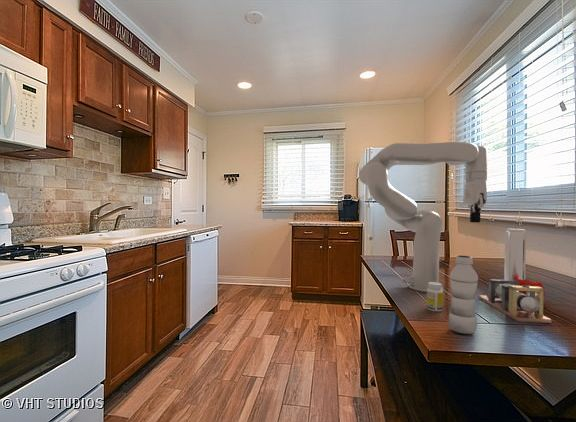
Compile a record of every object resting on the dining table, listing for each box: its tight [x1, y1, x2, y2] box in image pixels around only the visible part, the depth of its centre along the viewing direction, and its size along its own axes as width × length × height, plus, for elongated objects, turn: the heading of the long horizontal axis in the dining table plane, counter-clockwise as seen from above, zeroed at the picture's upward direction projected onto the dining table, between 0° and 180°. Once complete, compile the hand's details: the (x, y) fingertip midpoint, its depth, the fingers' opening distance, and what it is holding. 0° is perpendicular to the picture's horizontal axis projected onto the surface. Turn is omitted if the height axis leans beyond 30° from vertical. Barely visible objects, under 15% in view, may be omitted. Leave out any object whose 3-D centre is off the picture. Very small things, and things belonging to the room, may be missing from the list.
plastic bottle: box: [448, 254, 479, 335], centre depth 80 cm, size 6×7×20 cm
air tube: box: [495, 283, 540, 313], centre depth 97 cm, size 5×16×5 cm, turn 172°
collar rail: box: [478, 278, 552, 324], centre depth 99 cm, size 9×23×9 cm, turn 172°
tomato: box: [516, 278, 546, 300], centre depth 107 cm, size 9×9×8 cm
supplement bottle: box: [426, 282, 444, 312], centre depth 98 cm, size 5×5×8 cm
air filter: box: [503, 228, 527, 285], centre depth 119 cm, size 6×6×25 cm
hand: (475, 222), depth 124 cm, fingers closed
